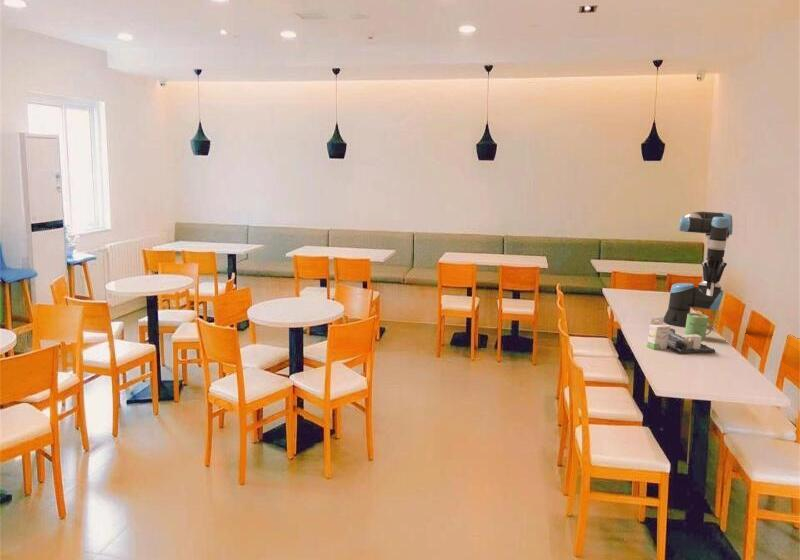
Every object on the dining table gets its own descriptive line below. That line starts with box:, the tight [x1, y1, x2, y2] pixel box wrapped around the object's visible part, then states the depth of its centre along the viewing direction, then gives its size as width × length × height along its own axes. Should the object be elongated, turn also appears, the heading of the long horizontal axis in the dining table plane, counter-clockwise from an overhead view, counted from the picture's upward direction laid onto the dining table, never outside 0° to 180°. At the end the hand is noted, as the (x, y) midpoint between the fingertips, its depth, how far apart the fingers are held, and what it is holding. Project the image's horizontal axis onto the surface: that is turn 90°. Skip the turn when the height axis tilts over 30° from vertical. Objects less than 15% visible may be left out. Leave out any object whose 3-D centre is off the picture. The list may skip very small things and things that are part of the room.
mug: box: [683, 312, 713, 341], centre depth 330 cm, size 13×10×12 cm
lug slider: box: [681, 334, 702, 349], centre depth 305 cm, size 8×4×6 cm, turn 102°
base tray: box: [666, 327, 716, 355], centre depth 313 cm, size 20×22×6 cm
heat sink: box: [668, 337, 685, 346], centre depth 312 cm, size 8×8×3 cm
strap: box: [669, 331, 694, 344], centre depth 311 cm, size 3×19×1 cm, turn 12°
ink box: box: [646, 317, 671, 350], centre depth 308 cm, size 9×5×15 cm, turn 113°
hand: (709, 295), depth 310 cm, fingers closed
